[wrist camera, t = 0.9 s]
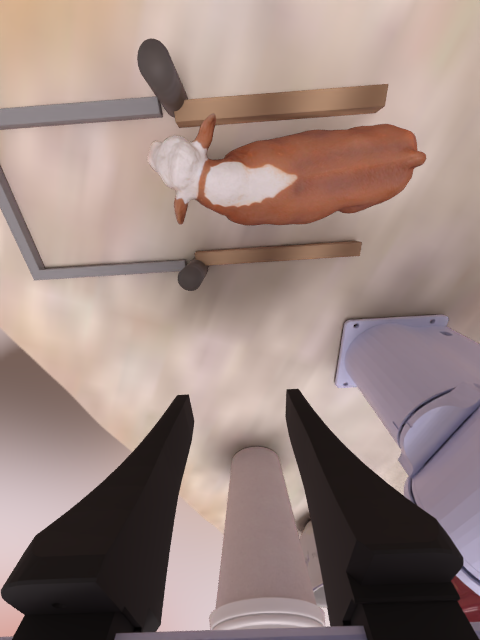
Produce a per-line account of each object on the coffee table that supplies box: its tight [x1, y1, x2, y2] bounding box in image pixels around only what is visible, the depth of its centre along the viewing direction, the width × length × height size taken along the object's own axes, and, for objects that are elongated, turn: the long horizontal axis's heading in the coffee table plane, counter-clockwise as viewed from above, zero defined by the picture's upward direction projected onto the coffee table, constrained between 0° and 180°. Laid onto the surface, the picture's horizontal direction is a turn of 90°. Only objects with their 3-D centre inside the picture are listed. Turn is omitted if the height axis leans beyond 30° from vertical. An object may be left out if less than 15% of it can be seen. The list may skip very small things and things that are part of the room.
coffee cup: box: [209, 447, 325, 630], centre depth 23 cm, size 10×10×15 cm
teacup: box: [300, 521, 327, 608], centre depth 34 cm, size 14×11×8 cm
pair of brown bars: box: [137, 39, 388, 291], centre depth 15 cm, size 14×12×4 cm
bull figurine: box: [147, 113, 426, 225], centre depth 13 cm, size 4×13×8 cm, turn 91°
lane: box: [0, 97, 187, 280], centre depth 16 cm, size 13×11×1 cm
